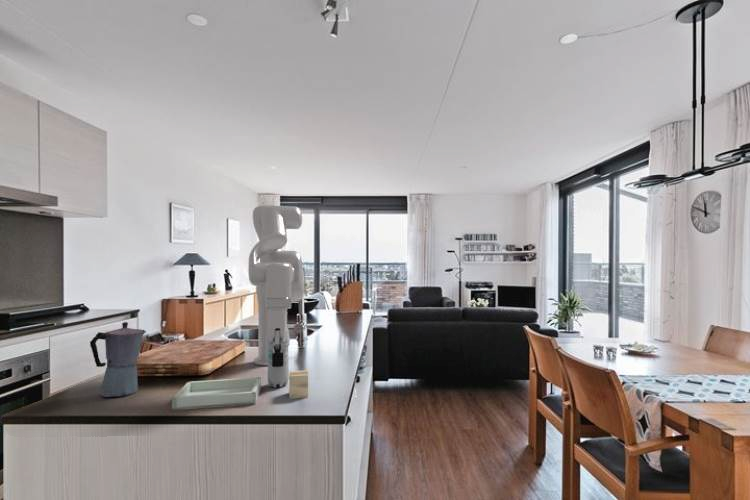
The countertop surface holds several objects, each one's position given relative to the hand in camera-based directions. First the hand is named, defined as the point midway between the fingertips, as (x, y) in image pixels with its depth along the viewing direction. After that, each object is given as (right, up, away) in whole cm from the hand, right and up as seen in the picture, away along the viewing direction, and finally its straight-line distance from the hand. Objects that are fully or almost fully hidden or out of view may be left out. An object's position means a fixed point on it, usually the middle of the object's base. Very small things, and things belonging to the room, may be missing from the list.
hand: (278, 363), depth 115 cm
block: (+8, -6, -9) cm, 13 cm away
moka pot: (-44, -7, -7) cm, 45 cm away
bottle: (0, -7, 0) cm, 7 cm away
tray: (-13, -6, -11) cm, 18 cm away
